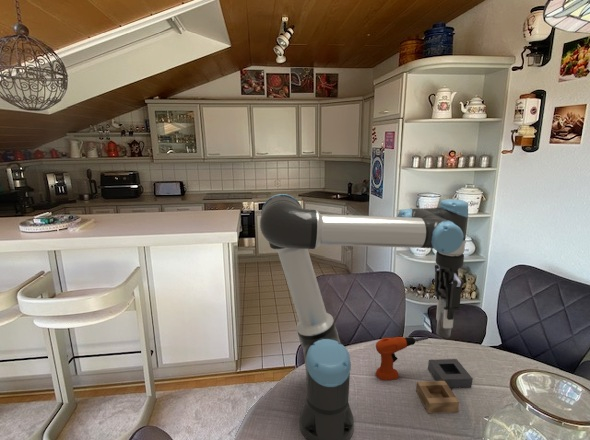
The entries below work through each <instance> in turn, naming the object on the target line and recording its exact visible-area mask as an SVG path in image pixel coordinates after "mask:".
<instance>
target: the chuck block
mask: <svg viewBox="0 0 590 440" xmlns="http://www.w3.org/2000/svg"><path fill="white" fill-rule="evenodd" d="M427 362H428V363H427V370H428V371H429V372H430V374H431V376H432V377H433V379H434V381H445V382H446V383H447V385H448V386H449V388H450V389H451V390H453V389H472V387H473V380H474V379H473V377H472V375H470V373H469V372H468V371H467V369H466V368H465V367H464V366H463V364H461V363H460V361H459V360H458V359H457V358H444V359H443V358H442V359H440V358H439V359H428V361H427Z"/></svg>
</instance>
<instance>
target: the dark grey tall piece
mask: <svg viewBox="0 0 590 440" xmlns="http://www.w3.org/2000/svg"><path fill="white" fill-rule="evenodd" d="M433 295H435V297H437V296H439V306H438V319H437V320H436V321H437V322H436V335H437V336H439V337H441V338H450V337H451V331H452V328H443V318H444V307H446V287H440V288H439V290H436V291H435V292H434V291H433Z"/></svg>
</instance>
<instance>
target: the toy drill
mask: <svg viewBox="0 0 590 440" xmlns="http://www.w3.org/2000/svg"><path fill="white" fill-rule="evenodd" d="M428 339H429V337H428V336H422V337H413V336H409V337H405V336H404V337H403V336H396V337H383V338H381V339H378V341H377V342H376V343H375V350H376V351H377V353H378V354H380V361H381V362H380V365H379V367H378V368H376V371H375V376H376V378H377V379H379V380H381V381H394V380H398V378H399V377H400V374H399V371H398V370H397V369H396V368H394V363H395V362H396V361H397V360H398V357H397V356H396V354H395V353H397V352H400V351H402V350H405V349H407V347H409V346H413V345H415V344H416V342H421V341H425V340H426V341H427V340H428Z"/></svg>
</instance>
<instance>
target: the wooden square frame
mask: <svg viewBox="0 0 590 440" xmlns="http://www.w3.org/2000/svg"><path fill="white" fill-rule="evenodd" d="M415 389H416V390H415V392H416V394H417V395H418V397H419V399H420V401H421V403H422V405H423V407H424V408H425V410H426V412H427V413H428V414H439V413H441V414H442V413H444V414H445V413H458V412H459V408H460V400H459V399H458V397H457V396H456V395H455V393H454V392H453V390H452V389H450V388H449V386H448V385H447V383H446V382H445V381H436V380H427V381H425V380H424V381H416V388H415Z"/></svg>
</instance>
